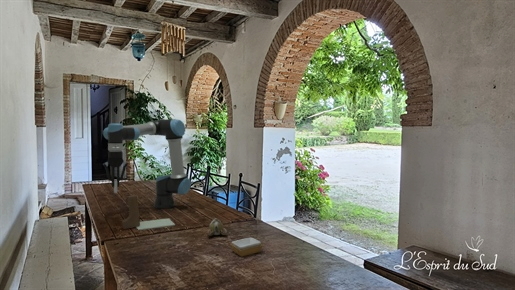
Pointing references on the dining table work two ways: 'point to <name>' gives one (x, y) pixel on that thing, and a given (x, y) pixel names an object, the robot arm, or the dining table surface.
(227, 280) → the dining table surface
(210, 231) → the ceramic sculpture
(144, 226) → the mat
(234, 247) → the soap dish
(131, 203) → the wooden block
